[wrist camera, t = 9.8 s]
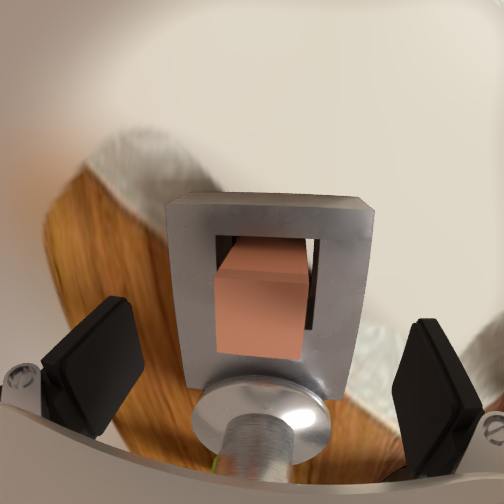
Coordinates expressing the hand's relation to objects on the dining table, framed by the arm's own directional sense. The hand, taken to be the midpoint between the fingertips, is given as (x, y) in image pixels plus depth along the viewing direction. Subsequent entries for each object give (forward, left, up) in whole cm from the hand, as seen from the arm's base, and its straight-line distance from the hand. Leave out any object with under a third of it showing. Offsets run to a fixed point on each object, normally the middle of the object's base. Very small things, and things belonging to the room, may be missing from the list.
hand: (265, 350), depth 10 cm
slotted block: (+6, -1, -10) cm, 12 cm away
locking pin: (+1, -1, -10) cm, 10 cm away
